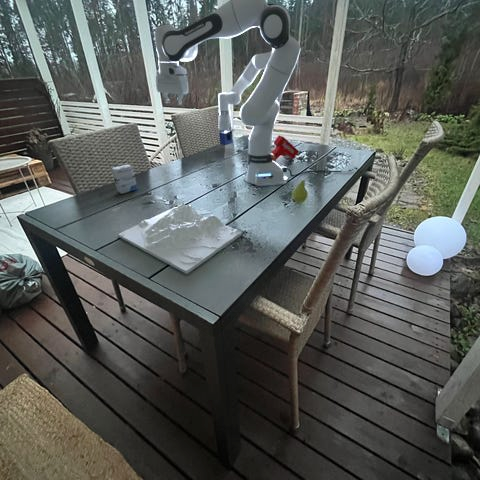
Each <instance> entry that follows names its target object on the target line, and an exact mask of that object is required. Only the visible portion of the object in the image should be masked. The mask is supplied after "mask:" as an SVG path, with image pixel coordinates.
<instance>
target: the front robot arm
mask: <svg viewBox="0 0 480 480" xmlns="http://www.w3.org/2000/svg"><path fill="white" fill-rule="evenodd" d="M291 25H292V17H291V12H290V11H289V10H288V8H287V7H286V6H284V5H281V4H275V3H268V2H267V1H266V0H228V1H226V2H225V3H223V4H222V5H221V6H219V7H217V8H216V9H215V10H214V11H212V12H211V13H209V14H207V15H206V16H205V17H203V18H201V19H199V20H198V21H197V20H196V21H195V22H193V23H191V24H190V25H188V26H186V27H185V28H182V29H180V30H179V29H177V28H176V27H175V26H174V25H173V24H172V23H171V24H170V23H162V24H159V25H157V27H155V30H154V38H155V39H154V41H155V49H156V52H157V57H158V58H157V59H158V61H157V63H158V64H157V65H158V69H157V70H156V73H155V87H156V91H157V93H162V97H163V99H164V104H171V99H170V98H169V96H168V95H169V94H174V95H175V94H176V96H177V100H176V104H177V105H178V106H180V105H181V106H182V105H183V98H184V95H187V94H188V93H189V80H188V77H187V74H188V72H187V71H188V70H187V69H186V68H185V67H183V66H182V65H180V64H179V63H180V62H190V61H194V59H196V58H197V55H198V53H199V46H198V45H199V44H201V43H203V42H205V41H207V40H210V39H232V38H234V37H237V36H241V34H243V33H245V32H247V31H249V30H251V29H253V28H259V31H260V35H261V36H262V38H263V39H264V41H265V42H266V43H267V44H268V45H269V46H270V47H271V48H272V50H271V51H272V54H271V56H270V59H269V61H268V64H267V66H266V68H265V69H264V71H263V74H262V76H261V78H260V80H259V82H258V84H257V85H256V87H255V88H254V90H253V92H252V93H251V95H250V96H249V98H248V99H247V100H246V101H245V103H243V104H242V105H241V107H240V110H239V118H240V120H241V122H242V123H243V124H244V125H246V126H250V127H252V129H251V132H250V134H249V136H248V152H247V155H246V156H247V157H246V158H247V159H246V162H247V171H246V175H245V177H244V179H245V180H244V181H245V182H246V183H249V184H252V185H255V186H257V187H267V186H279V185H286V184H288V182H289V181H288V180H289V179H288V177H287V176H286V175H285V173H287V172H288V171H289V175H290V176H291V177H296V176H298V175H301V174H306V173H342V172H341V171H342V170H323V169H322V170H319V169H318V170H306V171H301V172H298V173H296V174H293V173H292V170H291V168H289V167H287V166H285V165H284V164H279V163H277V161H276V162H275V161H274V160H275V159H276V157H275V156H274V155H273V154H272V153H271V148H272V147H271V136H272V137H273V134H272V132H273V131H274V128H275V124H276V120H277V118H278V117H279V115H280V111H281V107H280V106H281V105H280V104H279V103H278V102H277V98H278V97H279V96H280V95H281V94H282V93H283V94H284V91H285V89H286V87H287V85H288V83H289V81H290V79H291V76H292V74H293V72H294V70H295V68H296V65H297V62H298V59H299V56H300V52H301V46H300V45H301V44H300V43H299V41H298V40H297V39H295V38H294V37H293V36H292V35H291V33H290V30H291ZM273 133H274V132H273ZM276 160H277V159H276ZM351 169H352V168H351ZM351 169H348V170H349V171H348V172H351V171H354V169H352V170H351ZM355 170H358V167H357V168H355Z"/></svg>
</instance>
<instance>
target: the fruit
mask: <svg viewBox="0 0 480 480" xmlns="http://www.w3.org/2000/svg"><path fill="white" fill-rule="evenodd" d="M310 177H311V175H310V174H309V175H308V176H307V177H305V179H302V180H301V181H300V182H298V184H297V185H296V186H295V187H294V188H293V190H292V191H291V198H292V200H293V201H294V202H295V203H297V204H301V203H304V202H305V201H306V200H307V198H308V196H309V195H308V190H307V189H306V184H305V183H306V180H308V179H309V178H310Z"/></svg>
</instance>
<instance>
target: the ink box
mask: <svg viewBox="0 0 480 480" xmlns="http://www.w3.org/2000/svg"><path fill="white" fill-rule="evenodd" d="M110 170H111V173H112V176H113V181H114V184H115V188H116V191H117V192H118V193H119V194H121V195H122V194H126V193H130V192H132V191H133V192H134V191H136V190H138V185H137V181H136V177H135V171H134V167H133V165H130V164H124V165H120V166H119V165H118V166H115V167H111V168H110Z"/></svg>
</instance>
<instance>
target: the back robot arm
mask: <svg viewBox="0 0 480 480" xmlns="http://www.w3.org/2000/svg"><path fill="white" fill-rule="evenodd" d="M272 51H273V50H271V51H269V52H263V53H257V54H255V55H253V56H252V58H251V59H250V61H249V62H248V64H247V65H246V67H245V69H244V70H243V72H242V74H241V75H240V77H238V79H237V81H236V82H235V83H234V85H233V87H232V88H231V90H230V91H229V93H228V92H220V93H218V95H217V98H218V113H219V115H218V119H217V120H218V121H217V122H218V125H217V129H218V130H219V133H220V132H224V131H227V133H228V135H227V138H228V140H231V134H232V133H233V132H234V131H235V129H234V127H233V120H232V116H231V108H230V107H231V105H233V106H234V105H235V106H237V105H239V104H240V103H241V101H242V94H243V92H244V91H246V89H247V88H248V87H250V86H251V85H252V84H253V83H254V81H255V79H256V77H257V76H258V74H259V73H260V72H261V70H265V68H266V66H267V64H268V61H269V59H270V56H271V54H272ZM283 94H284V92H283V93H282V94H281V95H280V96H279V97H278V98H277V102H278V103H279V105H280V104H281V101H282V98H283ZM273 133H274V132H272V136H271V148H272V147H275V144H274V141H275V140H276V138H273Z"/></svg>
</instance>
